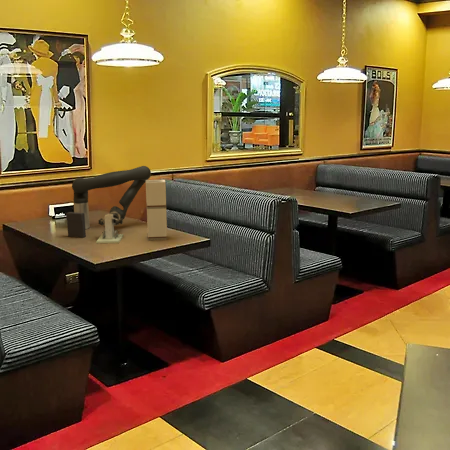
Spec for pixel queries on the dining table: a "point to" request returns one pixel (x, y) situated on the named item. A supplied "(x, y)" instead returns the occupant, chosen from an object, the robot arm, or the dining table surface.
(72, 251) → the dining table surface
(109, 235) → the block
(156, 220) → the beige rectangular tower
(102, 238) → the pin tray
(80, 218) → the dark brown upright block
